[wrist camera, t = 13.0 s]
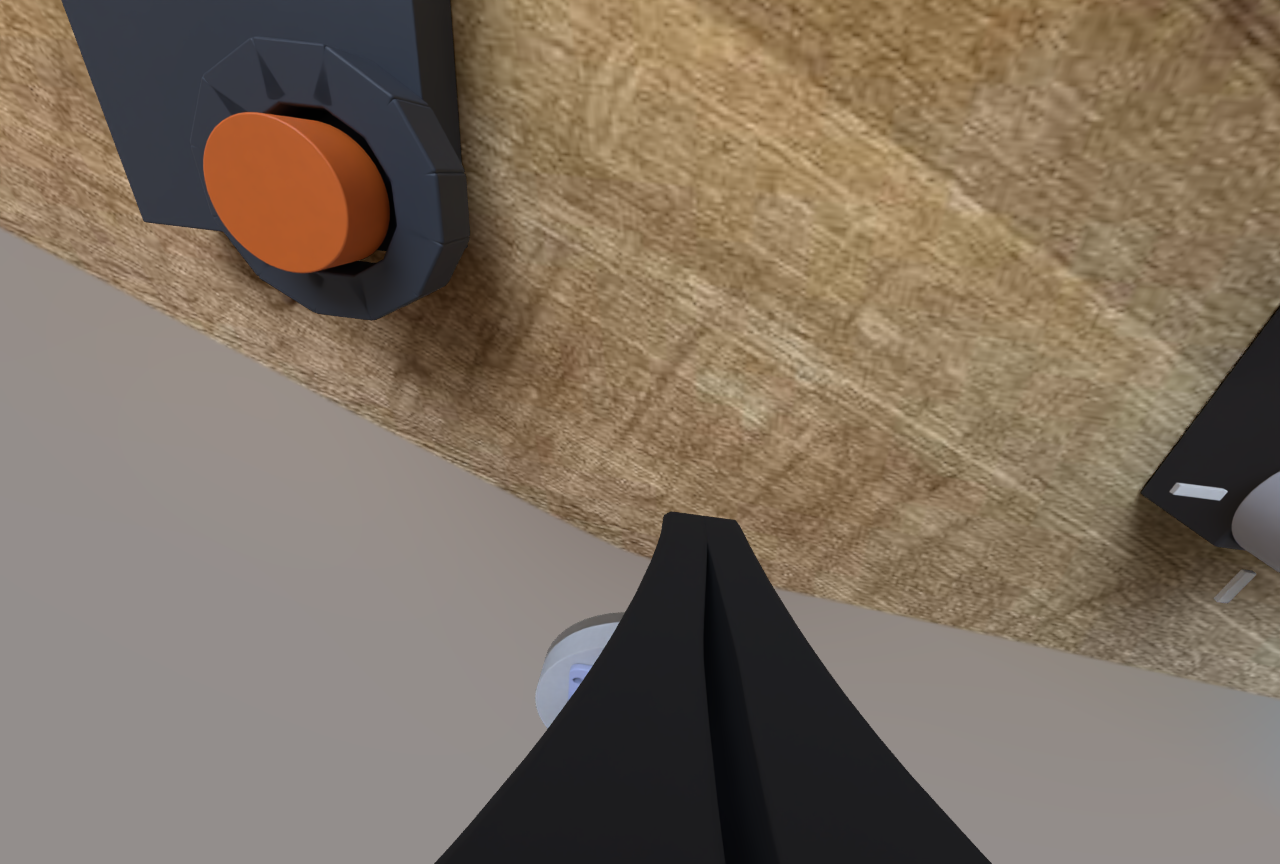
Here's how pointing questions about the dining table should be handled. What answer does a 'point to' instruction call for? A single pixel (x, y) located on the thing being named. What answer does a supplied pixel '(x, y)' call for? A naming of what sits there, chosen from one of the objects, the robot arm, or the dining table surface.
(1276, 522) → the timer dial
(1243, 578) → the timer panel
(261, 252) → the button
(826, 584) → the dining table surface
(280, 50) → the button block
